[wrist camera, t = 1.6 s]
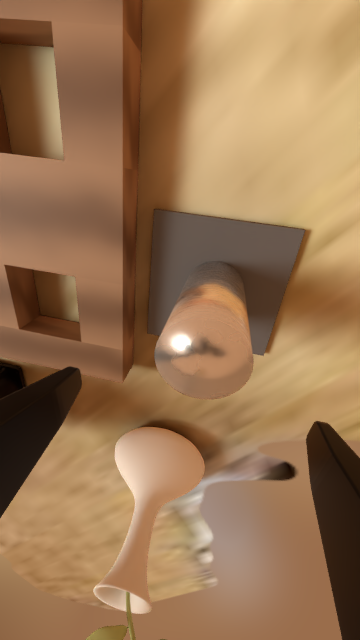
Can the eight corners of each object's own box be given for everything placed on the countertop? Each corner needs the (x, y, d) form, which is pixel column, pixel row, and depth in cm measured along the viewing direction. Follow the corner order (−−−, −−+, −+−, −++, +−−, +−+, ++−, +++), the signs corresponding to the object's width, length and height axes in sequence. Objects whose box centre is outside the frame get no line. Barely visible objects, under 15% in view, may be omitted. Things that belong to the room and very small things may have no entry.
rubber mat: (262, 352, 23) (263, 355, 23) (148, 330, 25) (147, 333, 24) (303, 229, 18) (305, 230, 18) (155, 208, 19) (154, 209, 19)
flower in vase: (116, 461, 36) (-62, 886, 14) (124, 406, 30) (-150, 970, 8) (205, 489, 35) (163, 983, 13) (230, 438, 30) (230, 1144, 8)
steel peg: (236, 320, 22) (240, 407, 13) (182, 310, 22) (151, 388, 14) (250, 266, 20) (265, 329, 11) (189, 256, 20) (157, 309, 11)
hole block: (133, 364, 27) (122, 383, 24) (13, 339, 28) (-9, 354, 26) (143, -47, 14) (122, -103, 11) (-84, -54, 15) (-150, -105, 12)
